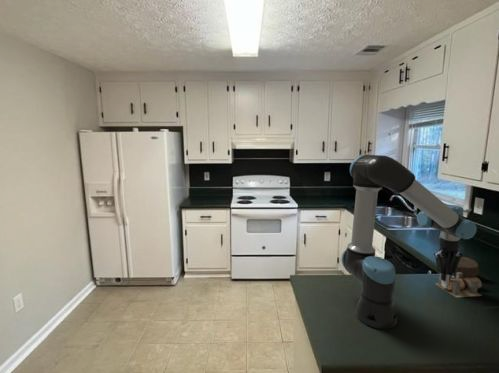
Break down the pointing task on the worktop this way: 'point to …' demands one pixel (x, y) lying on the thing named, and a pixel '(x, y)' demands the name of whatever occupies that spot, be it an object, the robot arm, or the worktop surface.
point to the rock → (467, 267)
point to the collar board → (456, 287)
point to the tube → (463, 283)
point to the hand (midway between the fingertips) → (444, 286)
